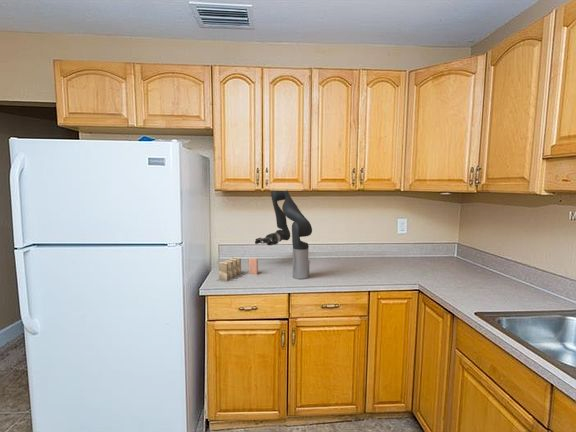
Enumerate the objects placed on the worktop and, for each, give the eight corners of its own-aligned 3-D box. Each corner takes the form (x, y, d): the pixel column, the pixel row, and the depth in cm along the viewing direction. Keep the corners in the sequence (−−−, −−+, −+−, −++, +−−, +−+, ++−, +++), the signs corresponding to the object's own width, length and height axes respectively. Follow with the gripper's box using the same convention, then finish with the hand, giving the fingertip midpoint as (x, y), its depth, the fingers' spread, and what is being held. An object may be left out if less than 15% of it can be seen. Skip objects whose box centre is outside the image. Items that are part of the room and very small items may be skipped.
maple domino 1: (220, 279, 189) (220, 262, 188) (228, 280, 187) (228, 262, 186) (219, 280, 188) (218, 262, 187) (226, 281, 186) (226, 263, 185)
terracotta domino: (250, 273, 202) (250, 257, 201) (257, 274, 200) (257, 258, 199) (249, 274, 201) (249, 258, 200) (256, 275, 199) (256, 259, 198)
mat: (237, 271, 208) (237, 270, 208) (248, 272, 205) (248, 271, 204) (215, 281, 187) (215, 280, 187) (227, 283, 183) (227, 282, 183)
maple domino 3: (229, 275, 197) (229, 258, 196) (237, 276, 195) (236, 259, 194) (228, 275, 196) (228, 259, 195) (235, 276, 194) (235, 260, 193)
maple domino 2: (225, 277, 193) (225, 260, 192) (232, 278, 191) (232, 261, 190) (224, 278, 192) (223, 261, 191) (231, 279, 190) (231, 261, 189)
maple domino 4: (233, 273, 201) (233, 257, 200) (241, 274, 199) (240, 257, 198) (232, 274, 200) (232, 257, 199) (239, 275, 198) (239, 258, 197)
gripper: (263, 232, 226) (251, 236, 211) (282, 234, 220) (271, 238, 206) (263, 243, 227) (251, 247, 212) (282, 245, 221) (271, 249, 206)
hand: (261, 243), depth 209 cm, fingers open, 8 cm apart
